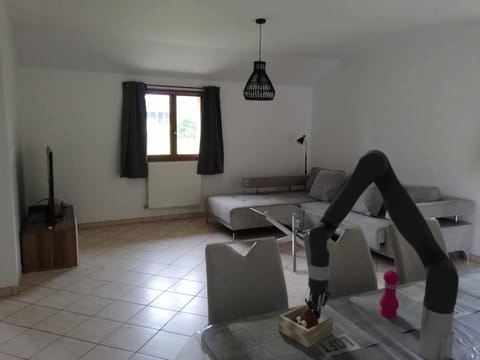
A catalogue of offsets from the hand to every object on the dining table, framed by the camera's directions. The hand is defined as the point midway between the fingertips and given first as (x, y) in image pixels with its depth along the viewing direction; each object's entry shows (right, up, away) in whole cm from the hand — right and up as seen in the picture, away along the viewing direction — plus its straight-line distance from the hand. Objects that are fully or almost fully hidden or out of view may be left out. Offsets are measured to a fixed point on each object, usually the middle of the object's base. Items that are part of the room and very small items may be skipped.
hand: (316, 318), depth 150 cm
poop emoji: (-4, -4, -3) cm, 6 cm away
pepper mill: (+31, -2, +10) cm, 33 cm away
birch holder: (-5, -4, -4) cm, 7 cm away
